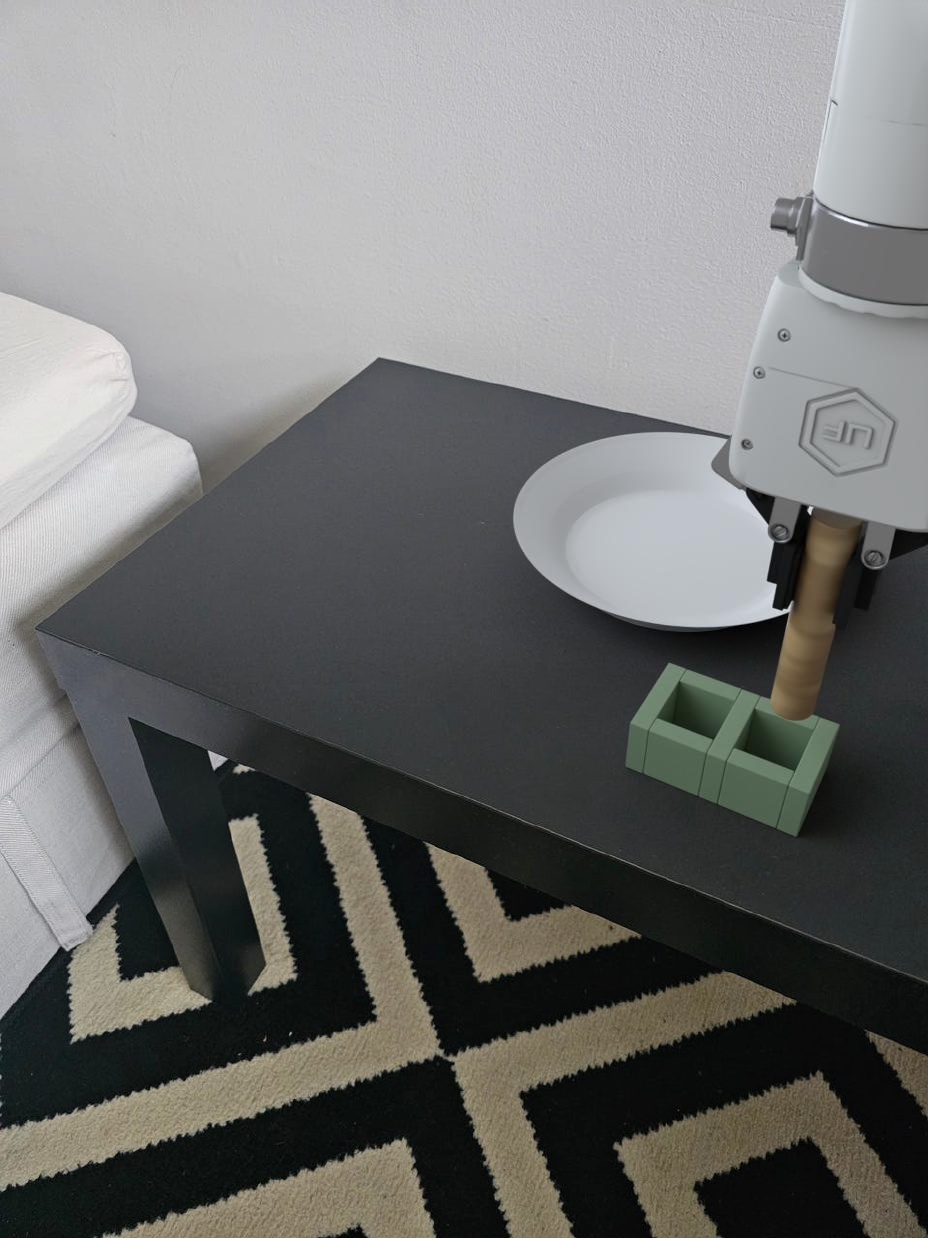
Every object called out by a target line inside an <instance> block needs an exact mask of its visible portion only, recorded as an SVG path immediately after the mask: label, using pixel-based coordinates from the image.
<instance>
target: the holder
mask: <svg viewBox="0 0 928 1238" xmlns="http://www.w3.org/2000/svg"><path fill="white" fill-rule="evenodd" d="M770 699H771V698H768V697H765V696H761V695H759V694H757V693H754V692H752V691H751V692H750V691H748V690H745V689H742V688H740V687H738V686H735V685H732V684H729V683H726V682H724V681H720V680H717V679H715V678H712V677H710V676H707V675H704V674H701V673H698V672H695V671H693V670H690V669H686V668H685V667H682V666H679V665H677V664H674V663H672V662H668V663H667V666H666V667H665V668H664V670H663V671H662V673H661V674H660V675H659V677H658V679H657V680H656V682H655V684H654V686H653V687H652V688H651V690H650V691H649V693H648V694H647V696H646V698H645V699H644V701H643V702H642V704H641V706H640V707H639V709H638V710H637V712H636V713H635V715H634V716H633V718H632V720H631V721H630V723H629V731H628V740H627V741H628V742H627V749H626V756H625V757H626V758H625V767H626V768H628V769H631V770H633V771H635V772H638V773H640V774H644V775H645V776H648V777H650V778H652V779H655V780H658V781H660V782H662V783H665V784H667V785H670V786H672V787H674V788H677V789H679V790H682V791H683V792H687V793H689V794H691V795H694V796H695V797H699V798H700V799H703V800H706V801H708V802H711V803H714V804H718V806H720V807H723V808H726V809H727V810H730V811H732V812H735V813H737V814H740V815H742V816H744V817H747V818H749V819H752V820H754V821H756V822H759V823H761V824H764V825H765V826H769V827H770V828H771V827H772V828H774V829H777V830H778V831H781V832H783V833H785V834H788V835H790V836H792V837H796V838H797V837H798V836H799V833H800V831H801V828H802V826H803V824H804V822H805V819H806V817H807V815H808V813H809V810H810V808H811V806H812V803H813V801H814V799H815V796H816V795H817V791H818V790H819V787H820V785H821V783H822V780H823V777H824V775H825V773H826V771H827V768H828V765H829V762H830V758H831V755H832V753H833V749H834V746H835V743H836V739H837V736H838V733H839V730H840V727H841V725H840V724H839V723H837V722H834V721H831V720H829V719H826V718H823V717H820V716H818V715H815V714H812V715H811V716H810V717H809V718H807V719H805V720H800V721H792V720H787V719H784V718H782V717H780V716H779V715H777V714H776V713H775V712H774V711H773V709H772V708H771V705H770Z"/></svg>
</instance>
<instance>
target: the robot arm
mask: <svg viewBox="0 0 928 1238" xmlns="http://www.w3.org/2000/svg"><path fill="white" fill-rule="evenodd" d="M842 16H843V17H842V21H841V25H840V26H841V27H840V32H839V37H838V43H837V49H836V55H835V60H834V66H833V72H832V78H831V83H830V88H829V94H828V101H827V107H826V112H825V113H826V114H825V118H824V123H823V129H822V135H821V140H820V146H819V152H818V156H817V164H816V169H815V176H814V180H813V185H812V187H813V188H812V189H810V190H809V191H808V193H806V194H805V196H804V195H797V196H796V197H795V198H790V197H783V196H779V197H777V199H776V201H775V203H774V205H773V207H772V211H771V216H770V221H769V222H770V223H769V226H770V230H771V232H772V231H773V232H779V233H786V235H787V237H789V238H795V241H794V243H795V244H794V245H795V246H796V247H797V250H796V255H795V256H793V257H792V258H791V259H789V260H788V262H786V263H784V264H783V265H781V267H780V268H779V269H778V270H777V273H776V275H775V278H774V280H773V283H772V285H771V288H770V291H769V293H768V295H767V299H766V302H765V305H764V308H763V311H762V313H761V317H760V320H759V322H758V326H757V330H756V334H755V336H754V337H755V338H754V341H753V344H752V348H751V352H750V356H749V360H748V364H747V367H746V372H745V375H744V380H743V384H742V389H741V393H740V397H739V402H738V407H737V411H736V415H735V418H734V424H733V427H732V433H731V435H730V436H729V437H728V438H727V439H728V440H727V441H726V443H725V444H724V445H723V447H722V448H721V449H720V451H719V452H718V453H717V455H716V456H715V457H714V459H713V460H712V462H711V467H712V469H713V471H714V472H715V473H717V474H718V475H719V476H721V477H722V478H724V479H725V480H726V481H728V482H729V483H731V484H732V485H733V486H735V487H736V488H738V489H739V490H740V489H742V490H743V491H745V492H746V496H747V497H748V499H749V500H750V502H751V503H752V504H753V506H754V507H755V508H756V510H757V511H758V512H759V513H760V515H761V516H762V517H763V519H764V520H765V521H766V523H767V524H768V525H769V526H768V535H769V537H770V538H771V539H772V540H773V541H774V544H773V549H772V555H771V560H770V565H769V570H768V575H767V582H770V583H774V584H777V585H776V590H775V595H774V600H773V605H772V608H774V609H777V610H781V611H783V609H788V607H789V605H790V604H791V602H792V600H793V596H794V591H795V587H796V582H797V577H798V573H799V568H800V564H801V559H802V555H803V550H804V546H805V539H806V535H807V530H808V525H809V521H810V516H811V515H810V514H809V512H808V509H809V506H810V507H814V508H818V509H822V510H825V511H829V512H833V513H837V514H841V515H845V516H848V517H852V518H856V519H860V520H864V522H867V526H866V530H865V533H864V535H862V536H860V537H859V541H858V545H857V549H856V551H855V552H854V553H853V554H852V556H851V558H850V560H849V562H848V564H847V567H846V570H845V574H844V577H843V581H842V585H841V589H840V593H839V597H838V601H837V605H836V609H835V613H834V616H833V620H832V624H835V627H836V629H839V630H842V631H847V628H848V627H849V624H850V622H851V621H852V618H853V616H854V614H855V612H856V610H861V611H864V612H868V613H869V611H870V610H871V608H872V605H873V603H874V600H875V598H876V594H877V592H878V588H879V585H880V582H881V578H882V574H883V570H884V568H885V567H887V565H888V563H889V562H890V561H893V560H894V559H897V558H899V557H902V556H905V555H906V554H910V553H913V552H914V551H916V550H919V549H921V548H924V547H926V546H928V0H845V3H844V9H843V14H842Z"/></svg>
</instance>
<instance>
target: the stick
mask: <svg viewBox="0 0 928 1238" xmlns="http://www.w3.org/2000/svg"><path fill="white" fill-rule="evenodd" d="M864 522H865V521H864V520H860V519H856V518H852V517H848V516H845V515H841V514H837V513H833V512H829V511H825V510H822V509H818V508H813V509H812V512H811V516H810V521H809V525H808V530H807V535H806V539H805V546H804V550H803V555H802V559H801V564H800V568H799V573H798V577H797V582H796V587H795V591H794V596H793V600H792V603H791V608H790V612H788V616H787V617H788V618H787V623H786V626H785V631H784V636H783V640H782V644H781V650H780V655H779V658H778V663H777V667H776V672H775V677H774V680H773V681H774V682H773V687H772V691H771V695H770V698H769V699H770V705H771V708H772V709H773V711H774V712H775V713H776V714H777V715H779V716H780V717H782V718H784V719H787V720H792V721H800V720H805V719H807V718H809V717H810V716H811V715H814V713H815V709H816V706H817V702H818V697H819V694H820V690H821V687H822V683H823V678H824V675H825V671H826V667H827V663H828V660H829V655H830V652H831V648H832V644H833V641H834V636H835V632H836V629H837V628H836V627H835V624H832V620H833V616H834V613H835V609H836V605H837V601H838V597H839V593H840V589H841V585H842V581H843V577H844V574H845V570H846V567H847V564H848V562H849V560H850V558H851V556H852V554H853V553H854V552H855V551H856V549H857V545H858V542H859V540H860V538H861V533H862V529H863V525H864Z"/></svg>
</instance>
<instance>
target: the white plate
mask: <svg viewBox="0 0 928 1238" xmlns="http://www.w3.org/2000/svg"><path fill="white" fill-rule="evenodd" d="M728 439H729V438H723V437H718V436H713V435H705V434H699V433H689V432H675V431H674V432H673V431H672V432H671V431H652V432H651V431H649V432H637V433H628V434H627V433H626V434H620V435H615V436H610V437H605V438H601V439H597V440H594V441H590V442H587V443H584V444H581V445H578V446H576V447H573V448H571V449H569V450H567V451H564V452H563V453H559V454H558V455H557V456H555V457H553V458H552V459H550V460H549V461H547V462H545V464H543V465H542V466H540V467H539V468H537V470H536V471H535V472H533V474H531V475H530V477H528V479H527V480H526V481H525V483H524V485H523V486H522V487H521V489H520V491H519V492H518V494H517V497H516V500H515V503H514V508H513V513H512V514H513V515H512V518H513V519H512V521H513V530H514V534H515V537H516V540H517V543H518V544H519V547H520V548H521V550H522V552H523V554H524V556H525V557H526V558H527V560H528V561H529V562H530V564H532V566H533V567H534V568H535V570H537V571H538V572H539V573H540V574H541V576H543V577H545V579H547V580H548V581H549V582H551V583H552V584H553V585H555V586H556V587H558V588H559V589H561V590H562V591H563V592H565V593H566V594H568V595H570V596H572V597H574V598H575V599H577V600H580V601H581V602H583V603H586V604H587V605H589V606H592V607H594V608H597V609H599V610H601V611H602V612H604V613H605V614H608V615H610V616H612V617H614V618H616V619H619V620H620V621H624V622H626V623H630V624H633V625H636V626H640V627H644V628H648V629H655V630H659V631H668V632H681V633H682V632H683V633H684V632H685V633H686V632H687V633H695V632H709V631H718V630H723V629H727V628H731V627H735V626H740V625H747V624H752V623H758V622H762V621H765V620H770V619H773V618H777V617H779V616H782V615H785V614H789V612H790V608H791V604H790V605H789V607H788V609H783V611H781V610H777V609H774V608H772V605H773V600H774V595H775V590H776V585H777V584H774V583H770V582H767V575H768V570H769V565H770V560H771V555H772V549H773V544H774V541H773V540H772V539H771V538H770V537H769V535H768V526H769V525H768V524H767V523H766V521H765V520H764V519H763V517H762V516H761V515H760V513H759V512H758V511H757V510H756V508H755V507H754V506H753V504H752V503H751V502H750V500H749V499H748V497H747V496H746V492H745V491H743V490H742V489H740V490H739V489H738V488H736V487H735V486H733V485H732V484H731V483H729V482H728V481H726V480H725V479H724V478H722V477H721V476H719V475H718V474H717V473H715V472H714V471H713V469H712V467H711V462H712V460H713V459H714V457H715V456H716V455H717V453H718V452H719V451H720V449H721V448H722V447H723V445H724V444H725V443H726V441H727V440H728ZM813 508H814V507H810V506H809V509H808V512H809V514H810V515H811V512H812V509H813ZM791 603H792V602H791Z"/></svg>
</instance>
